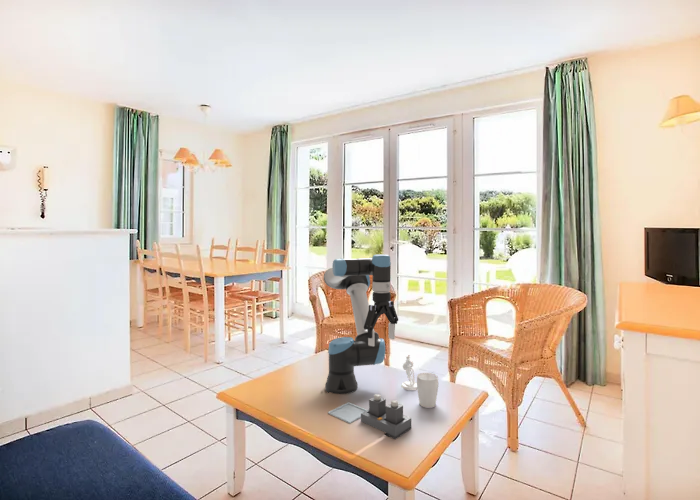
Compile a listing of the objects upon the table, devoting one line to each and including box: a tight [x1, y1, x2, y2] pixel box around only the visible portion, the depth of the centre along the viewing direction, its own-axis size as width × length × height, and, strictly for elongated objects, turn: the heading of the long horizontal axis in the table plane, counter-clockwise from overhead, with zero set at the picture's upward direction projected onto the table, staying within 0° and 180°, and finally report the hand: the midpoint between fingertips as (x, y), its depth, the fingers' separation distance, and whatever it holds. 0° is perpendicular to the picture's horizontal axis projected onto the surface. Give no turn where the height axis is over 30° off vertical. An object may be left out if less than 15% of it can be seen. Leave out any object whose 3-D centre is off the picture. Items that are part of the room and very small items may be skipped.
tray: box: [327, 402, 368, 424], centre depth 149 cm, size 12×12×2 cm
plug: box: [386, 399, 404, 425], centre depth 138 cm, size 4×4×10 cm
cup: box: [416, 372, 439, 409], centre depth 158 cm, size 9×9×12 cm
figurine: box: [400, 354, 418, 391], centre depth 177 cm, size 9×9×15 cm
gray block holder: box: [360, 393, 412, 440], centre depth 140 cm, size 16×10×10 cm, turn 47°
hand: (381, 342), depth 157 cm, fingers open, 13 cm apart
